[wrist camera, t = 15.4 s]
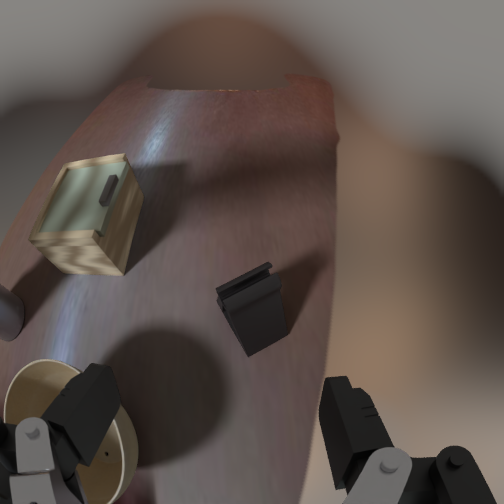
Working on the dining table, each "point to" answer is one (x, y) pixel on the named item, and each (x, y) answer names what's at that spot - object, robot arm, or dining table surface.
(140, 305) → the dining table surface
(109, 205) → the bread box
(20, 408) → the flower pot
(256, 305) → the phone stand
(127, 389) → the dining table surface
